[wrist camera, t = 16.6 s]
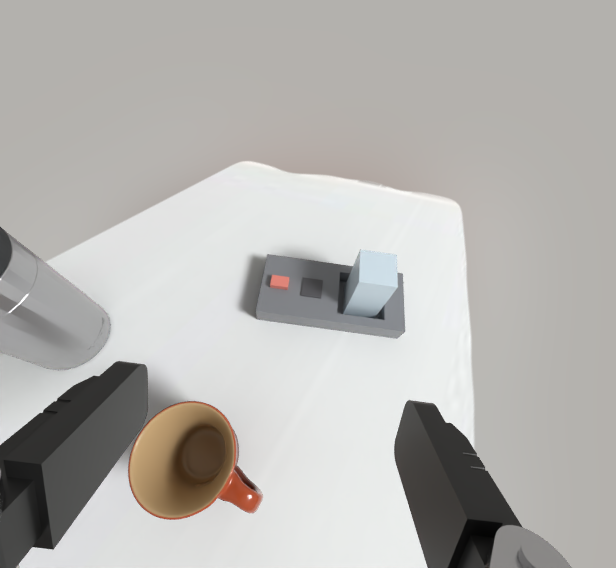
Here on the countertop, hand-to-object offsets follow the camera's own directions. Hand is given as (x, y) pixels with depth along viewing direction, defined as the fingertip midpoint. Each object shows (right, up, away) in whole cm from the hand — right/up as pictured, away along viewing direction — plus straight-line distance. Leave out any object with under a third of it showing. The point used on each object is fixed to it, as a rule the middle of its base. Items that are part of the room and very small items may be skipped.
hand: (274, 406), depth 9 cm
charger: (+8, +1, +36) cm, 37 cm away
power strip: (+4, +1, +36) cm, 36 cm away
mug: (-9, -16, +25) cm, 32 cm away
